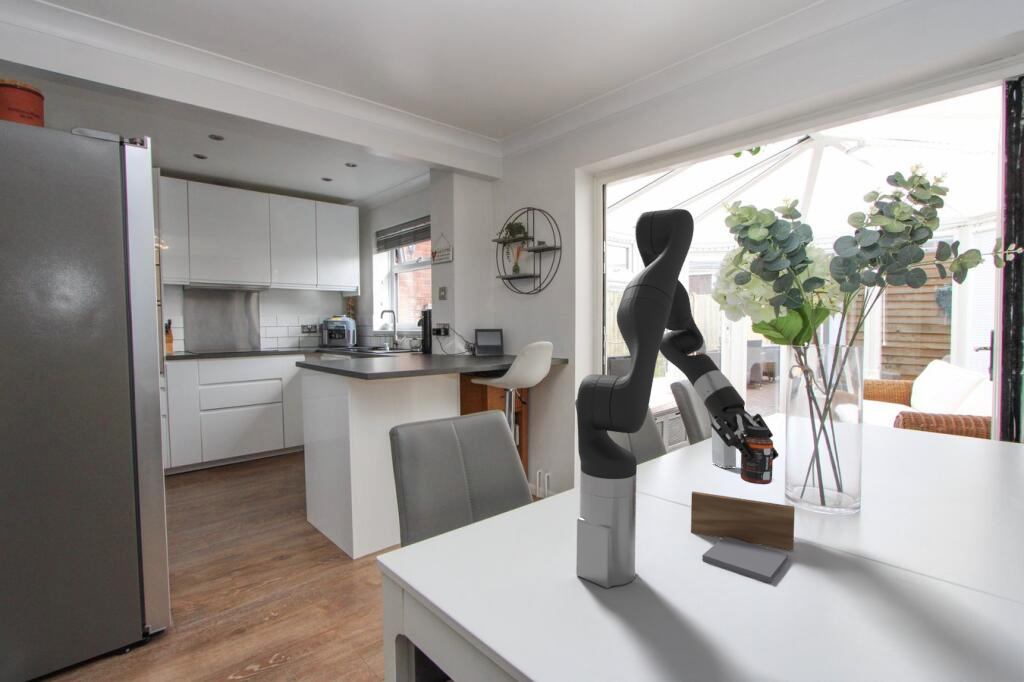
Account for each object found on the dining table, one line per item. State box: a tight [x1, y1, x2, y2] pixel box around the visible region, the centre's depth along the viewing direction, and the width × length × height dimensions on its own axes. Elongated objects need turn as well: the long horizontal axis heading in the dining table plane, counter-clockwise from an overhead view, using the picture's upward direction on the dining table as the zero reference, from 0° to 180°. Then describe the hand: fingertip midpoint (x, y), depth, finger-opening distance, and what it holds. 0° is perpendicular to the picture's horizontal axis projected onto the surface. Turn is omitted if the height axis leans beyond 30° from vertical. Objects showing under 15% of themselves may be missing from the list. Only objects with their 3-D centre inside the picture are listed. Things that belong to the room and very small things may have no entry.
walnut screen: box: [690, 491, 796, 552], centre depth 94 cm, size 1×18×8 cm, turn 64°
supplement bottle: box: [740, 426, 774, 485], centre depth 101 cm, size 6×6×11 cm
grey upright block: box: [711, 426, 737, 469], centre depth 145 cm, size 6×4×12 cm
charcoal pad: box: [702, 536, 789, 584], centre depth 86 cm, size 11×11×1 cm
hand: (764, 459), depth 100 cm, fingers closed on supplement bottle, 6 cm apart
